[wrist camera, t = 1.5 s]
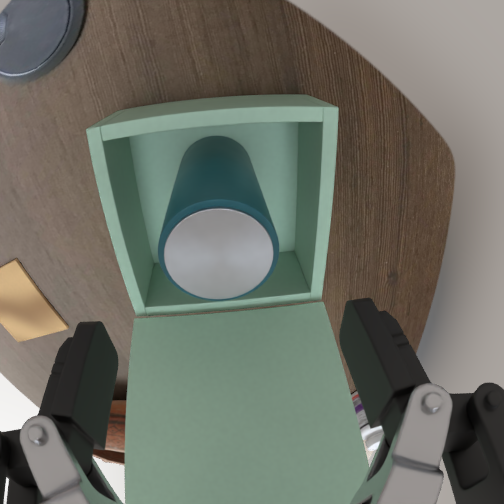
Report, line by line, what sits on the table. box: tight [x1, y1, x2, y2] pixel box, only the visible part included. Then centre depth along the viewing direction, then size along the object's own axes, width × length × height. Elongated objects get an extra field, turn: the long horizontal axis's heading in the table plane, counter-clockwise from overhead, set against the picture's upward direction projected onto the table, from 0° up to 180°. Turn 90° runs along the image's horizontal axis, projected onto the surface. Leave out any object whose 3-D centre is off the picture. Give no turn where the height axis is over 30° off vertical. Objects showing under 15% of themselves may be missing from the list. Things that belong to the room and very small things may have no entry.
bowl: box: [93, 400, 127, 465], centre depth 37 cm, size 16×16×10 cm
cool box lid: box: [125, 302, 369, 504], centre depth 19 cm, size 15×14×5 cm
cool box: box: [86, 94, 338, 316], centre depth 22 cm, size 14×14×6 cm
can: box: [158, 136, 280, 301], centre depth 18 cm, size 5×5×11 cm
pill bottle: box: [351, 391, 384, 450], centre depth 42 cm, size 5×5×10 cm
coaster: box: [0, 258, 69, 342], centre depth 28 cm, size 10×10×1 cm
